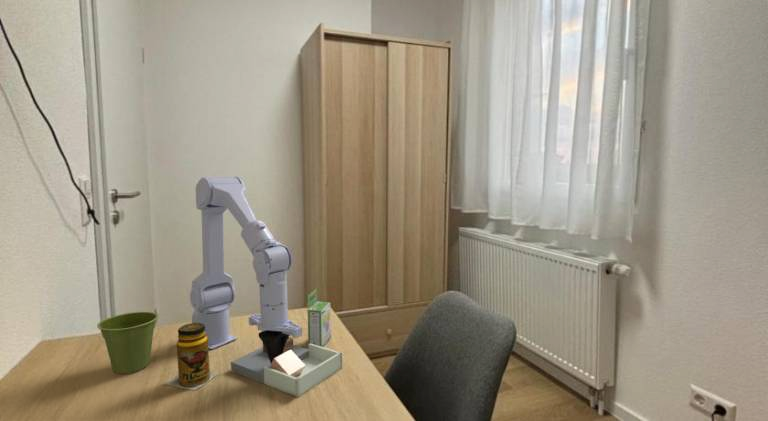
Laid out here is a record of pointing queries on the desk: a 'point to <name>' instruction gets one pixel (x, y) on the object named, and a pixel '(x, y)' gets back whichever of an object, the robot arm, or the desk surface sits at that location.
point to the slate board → (260, 362)
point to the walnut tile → (287, 346)
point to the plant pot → (129, 340)
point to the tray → (306, 371)
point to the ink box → (318, 321)
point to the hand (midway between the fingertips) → (275, 362)
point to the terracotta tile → (288, 364)
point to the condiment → (192, 358)
